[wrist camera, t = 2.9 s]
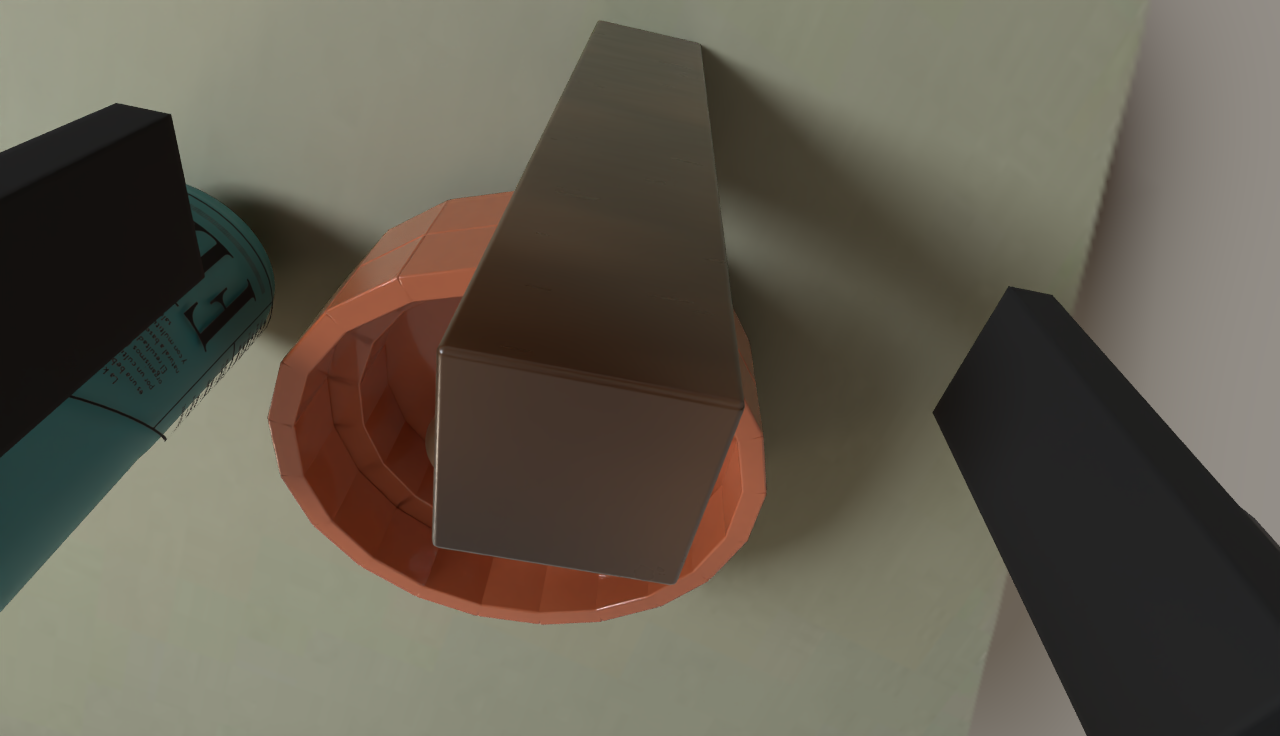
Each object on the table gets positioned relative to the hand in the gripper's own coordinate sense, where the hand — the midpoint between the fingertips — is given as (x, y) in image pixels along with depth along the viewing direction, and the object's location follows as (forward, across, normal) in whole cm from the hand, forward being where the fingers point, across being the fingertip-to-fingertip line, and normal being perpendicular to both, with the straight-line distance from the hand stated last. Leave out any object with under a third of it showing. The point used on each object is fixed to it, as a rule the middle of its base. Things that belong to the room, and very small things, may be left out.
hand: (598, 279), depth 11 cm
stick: (+11, 0, 0) cm, 11 cm away
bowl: (+11, -1, -11) cm, 16 cm away
